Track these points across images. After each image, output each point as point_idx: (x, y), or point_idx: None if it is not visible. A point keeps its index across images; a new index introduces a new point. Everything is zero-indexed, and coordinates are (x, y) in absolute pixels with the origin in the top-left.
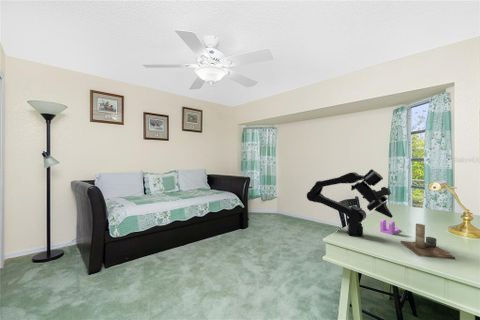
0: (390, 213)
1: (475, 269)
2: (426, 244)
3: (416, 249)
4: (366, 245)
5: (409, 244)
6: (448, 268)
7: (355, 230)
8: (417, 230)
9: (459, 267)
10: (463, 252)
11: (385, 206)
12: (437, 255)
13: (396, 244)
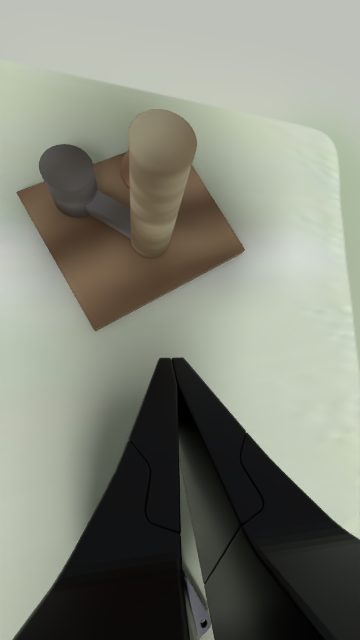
0: (188, 386)
1: (228, 109)
2: (125, 208)
3: (191, 255)
4: (294, 460)
5: (133, 285)
6: (288, 175)
7: (194, 622)
8: (183, 192)
9: (250, 146)
10: (40, 99)
11: (180, 555)
12: (204, 188)
13: (153, 343)
